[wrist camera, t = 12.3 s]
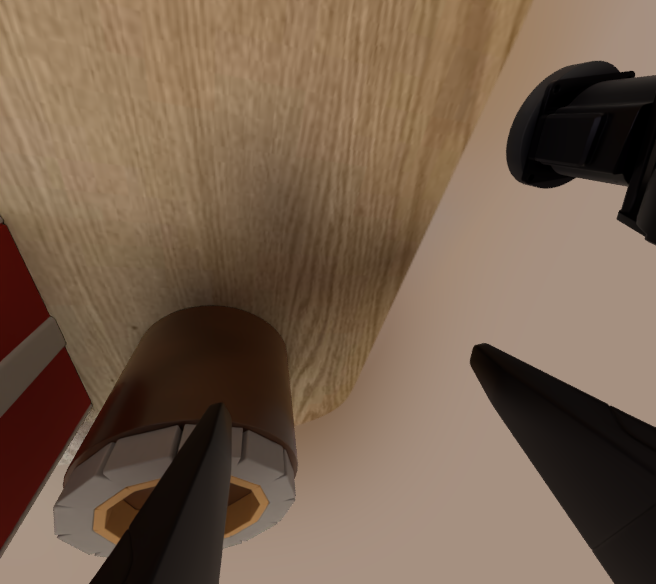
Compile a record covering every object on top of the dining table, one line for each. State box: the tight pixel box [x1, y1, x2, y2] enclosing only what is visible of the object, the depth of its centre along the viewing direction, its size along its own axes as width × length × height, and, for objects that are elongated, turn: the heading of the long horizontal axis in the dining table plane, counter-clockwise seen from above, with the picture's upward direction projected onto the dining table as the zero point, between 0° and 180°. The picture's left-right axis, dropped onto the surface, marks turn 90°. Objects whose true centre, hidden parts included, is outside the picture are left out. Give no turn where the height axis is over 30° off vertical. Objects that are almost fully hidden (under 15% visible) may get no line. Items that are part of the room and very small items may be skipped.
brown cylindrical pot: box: [63, 306, 298, 510], centre depth 20 cm, size 12×12×10 cm
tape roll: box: [53, 424, 296, 557], centre depth 15 cm, size 11×11×2 cm
